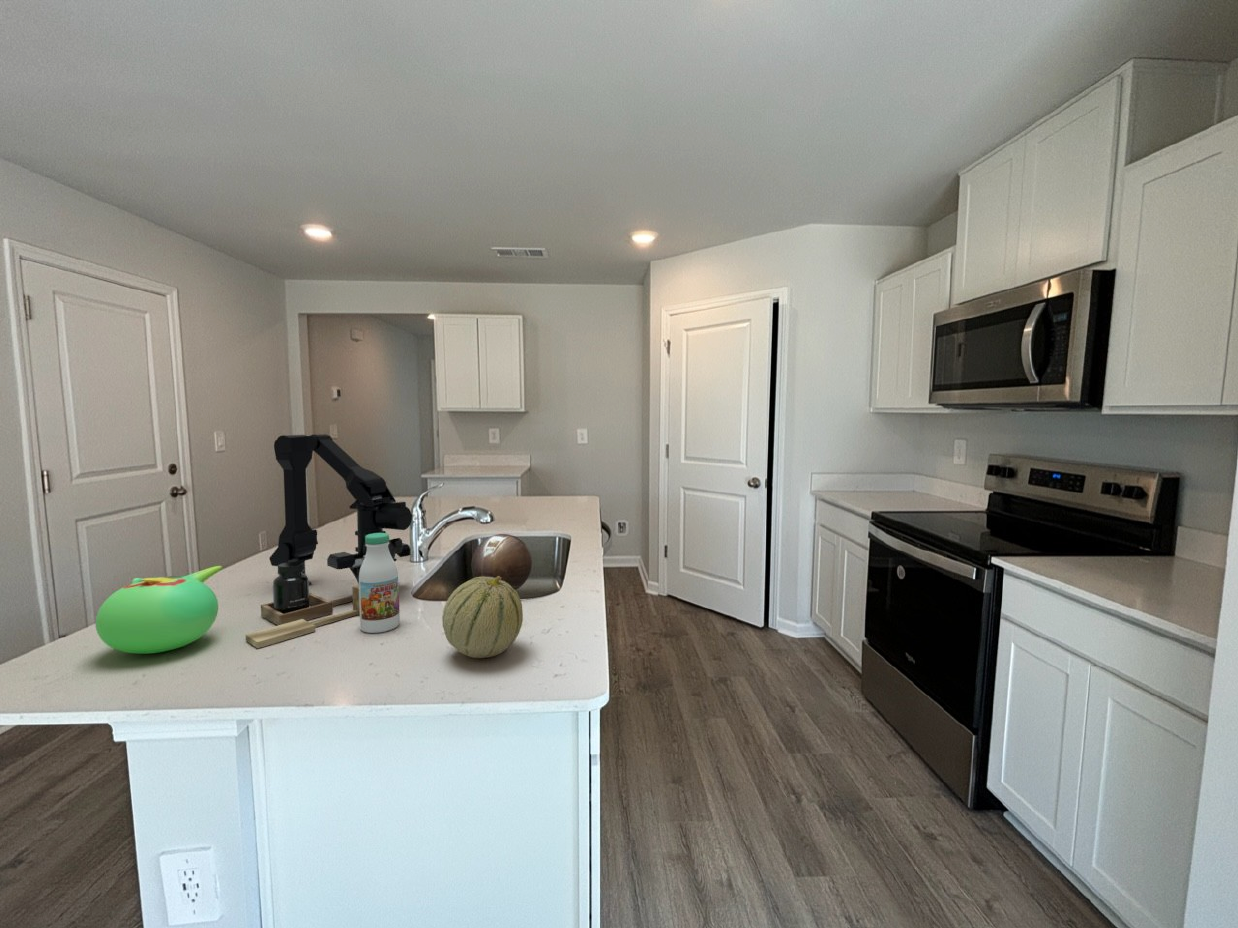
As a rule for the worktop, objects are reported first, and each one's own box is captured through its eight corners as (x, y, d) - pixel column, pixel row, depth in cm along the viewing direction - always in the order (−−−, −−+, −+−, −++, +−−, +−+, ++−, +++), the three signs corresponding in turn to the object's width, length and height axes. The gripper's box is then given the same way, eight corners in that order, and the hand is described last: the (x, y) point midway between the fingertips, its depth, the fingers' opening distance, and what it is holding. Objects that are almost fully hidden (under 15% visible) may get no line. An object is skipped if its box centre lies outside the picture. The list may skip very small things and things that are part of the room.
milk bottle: (352, 629, 114) (348, 536, 112) (383, 617, 121) (380, 529, 119) (377, 636, 110) (373, 540, 109) (407, 624, 117) (404, 532, 115)
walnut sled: (261, 615, 121) (259, 589, 120) (365, 589, 140) (364, 566, 139) (281, 627, 115) (279, 599, 114) (387, 597, 133) (386, 573, 133)
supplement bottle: (297, 622, 118) (294, 568, 117) (266, 622, 118) (264, 568, 117) (316, 611, 124) (314, 560, 123) (287, 610, 125) (284, 559, 124)
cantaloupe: (441, 644, 107) (439, 569, 106) (516, 633, 112) (515, 562, 111) (445, 677, 93) (443, 592, 92) (530, 664, 98) (529, 583, 97)
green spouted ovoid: (76, 673, 94) (69, 591, 93) (134, 635, 111) (128, 564, 109) (197, 661, 99) (192, 583, 98) (235, 626, 115) (231, 559, 114)
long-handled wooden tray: (245, 640, 108) (243, 610, 107) (362, 607, 127) (361, 582, 126) (257, 648, 104) (255, 617, 104) (376, 612, 123) (375, 587, 123)
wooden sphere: (463, 602, 131) (462, 541, 130) (481, 583, 146) (480, 528, 145) (525, 603, 131) (524, 541, 129) (537, 583, 146) (536, 528, 144)
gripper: (348, 537, 122) (349, 605, 123) (422, 525, 137) (423, 586, 138) (325, 531, 129) (327, 595, 130) (398, 520, 144) (399, 578, 145)
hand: (371, 588), depth 136 cm, fingers open, 4 cm apart
